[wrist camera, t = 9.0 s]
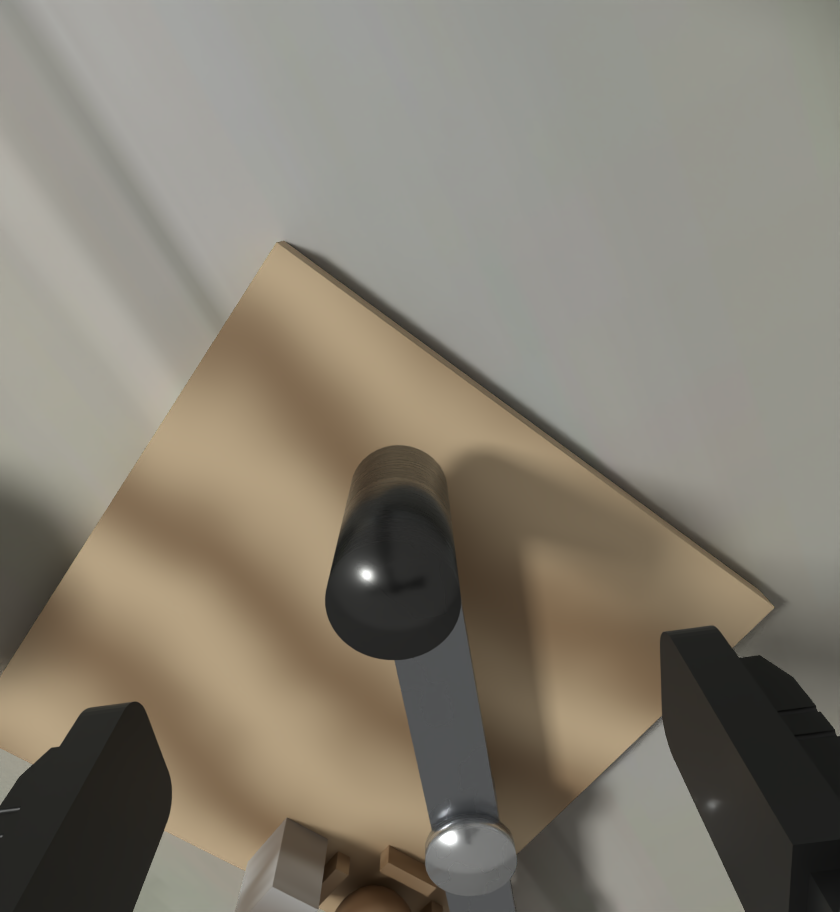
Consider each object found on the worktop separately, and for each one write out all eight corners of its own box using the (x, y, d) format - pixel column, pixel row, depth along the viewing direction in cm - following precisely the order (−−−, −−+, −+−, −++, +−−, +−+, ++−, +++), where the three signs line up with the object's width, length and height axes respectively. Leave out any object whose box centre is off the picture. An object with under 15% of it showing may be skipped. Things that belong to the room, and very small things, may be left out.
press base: (284, 240, 21) (253, 247, 17) (758, 589, 25) (822, 658, 21) (-23, 720, 27) (-98, 807, 23) (402, 936, 31) (401, 1040, 27)
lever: (532, 945, 29) (573, 1202, 21) (457, 955, 29) (472, 1213, 21) (443, 417, 21) (459, 529, 13) (341, 434, 21) (301, 555, 14)
